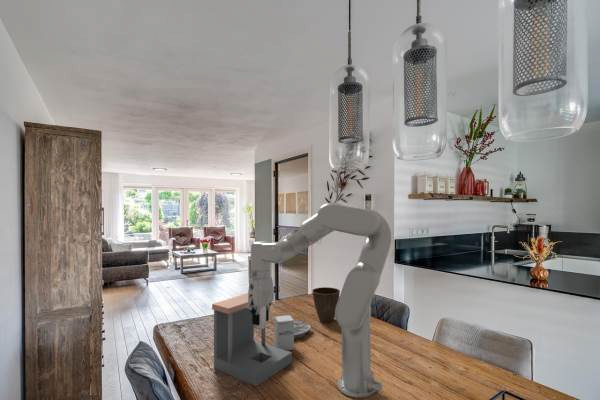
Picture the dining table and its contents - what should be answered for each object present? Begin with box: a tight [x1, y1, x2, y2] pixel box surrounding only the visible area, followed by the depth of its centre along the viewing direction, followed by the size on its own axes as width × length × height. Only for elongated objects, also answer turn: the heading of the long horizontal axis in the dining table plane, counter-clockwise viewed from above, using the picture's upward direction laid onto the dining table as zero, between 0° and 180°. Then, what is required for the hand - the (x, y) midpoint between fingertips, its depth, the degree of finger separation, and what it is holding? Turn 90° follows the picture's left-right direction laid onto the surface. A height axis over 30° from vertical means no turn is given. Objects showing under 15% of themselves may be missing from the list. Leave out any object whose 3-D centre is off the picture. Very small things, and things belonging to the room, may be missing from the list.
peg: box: [254, 305, 267, 330], centre depth 118 cm, size 4×4×10 cm
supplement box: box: [273, 315, 295, 351], centre depth 136 cm, size 7×7×13 cm
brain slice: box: [294, 320, 312, 340], centre depth 152 cm, size 20×17×3 cm
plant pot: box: [311, 286, 341, 324], centre depth 168 cm, size 15×15×16 cm
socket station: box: [211, 292, 293, 387], centre depth 120 cm, size 22×21×24 cm
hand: (260, 321), depth 118 cm, fingers closed on peg, 4 cm apart
